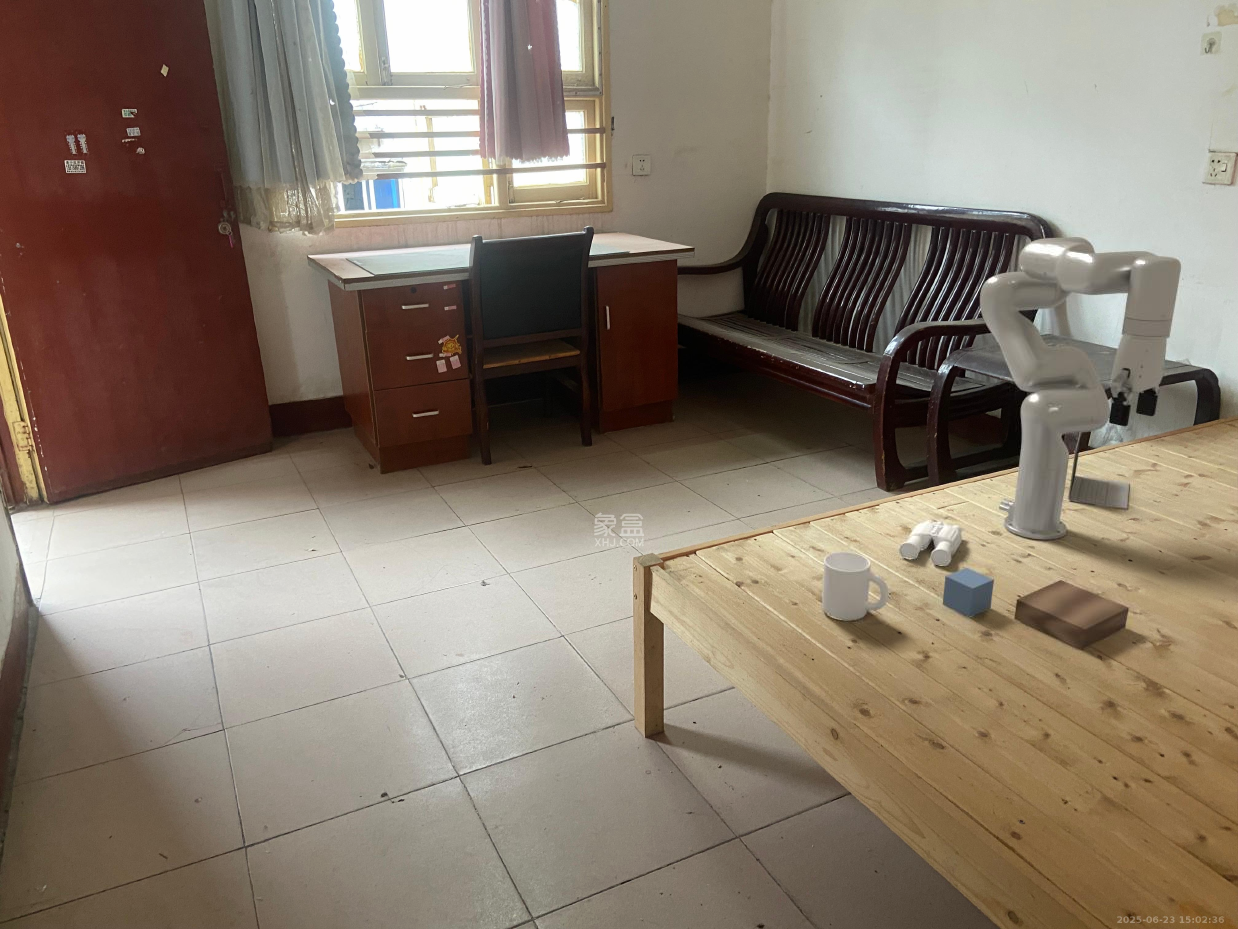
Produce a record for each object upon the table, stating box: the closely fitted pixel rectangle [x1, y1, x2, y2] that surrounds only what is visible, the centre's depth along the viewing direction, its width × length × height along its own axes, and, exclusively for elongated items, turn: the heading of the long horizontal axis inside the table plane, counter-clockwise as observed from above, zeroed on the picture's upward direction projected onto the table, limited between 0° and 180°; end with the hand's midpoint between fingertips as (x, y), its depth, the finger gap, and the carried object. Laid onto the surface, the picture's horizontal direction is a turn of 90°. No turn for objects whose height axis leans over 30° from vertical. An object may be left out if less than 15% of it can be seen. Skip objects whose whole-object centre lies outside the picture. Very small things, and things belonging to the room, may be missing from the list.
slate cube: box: [942, 567, 995, 618], centre depth 168 cm, size 6×6×6 cm
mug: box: [821, 551, 889, 621], centre depth 166 cm, size 12×8×10 cm
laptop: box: [1067, 432, 1130, 510], centre depth 217 cm, size 18×12×13 cm
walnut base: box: [1013, 579, 1130, 651], centre depth 162 cm, size 13×13×4 cm
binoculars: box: [898, 519, 963, 567], centre depth 192 cm, size 10×16×5 cm, turn 148°
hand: (1131, 419), depth 167 cm, fingers open, 9 cm apart
